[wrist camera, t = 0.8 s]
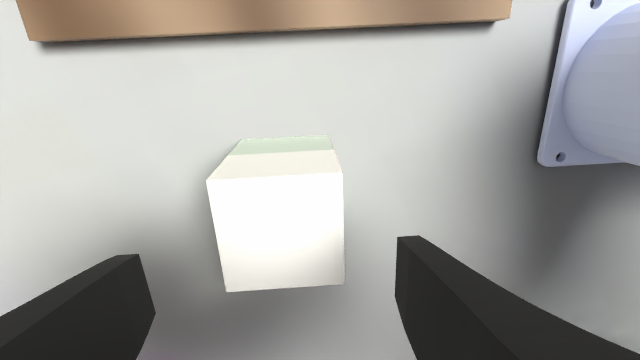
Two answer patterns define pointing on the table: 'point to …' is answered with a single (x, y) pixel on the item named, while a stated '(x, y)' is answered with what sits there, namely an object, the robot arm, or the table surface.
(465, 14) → the brown wooden board
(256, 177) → the cream rectangular block
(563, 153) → the robot arm
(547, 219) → the table surface
